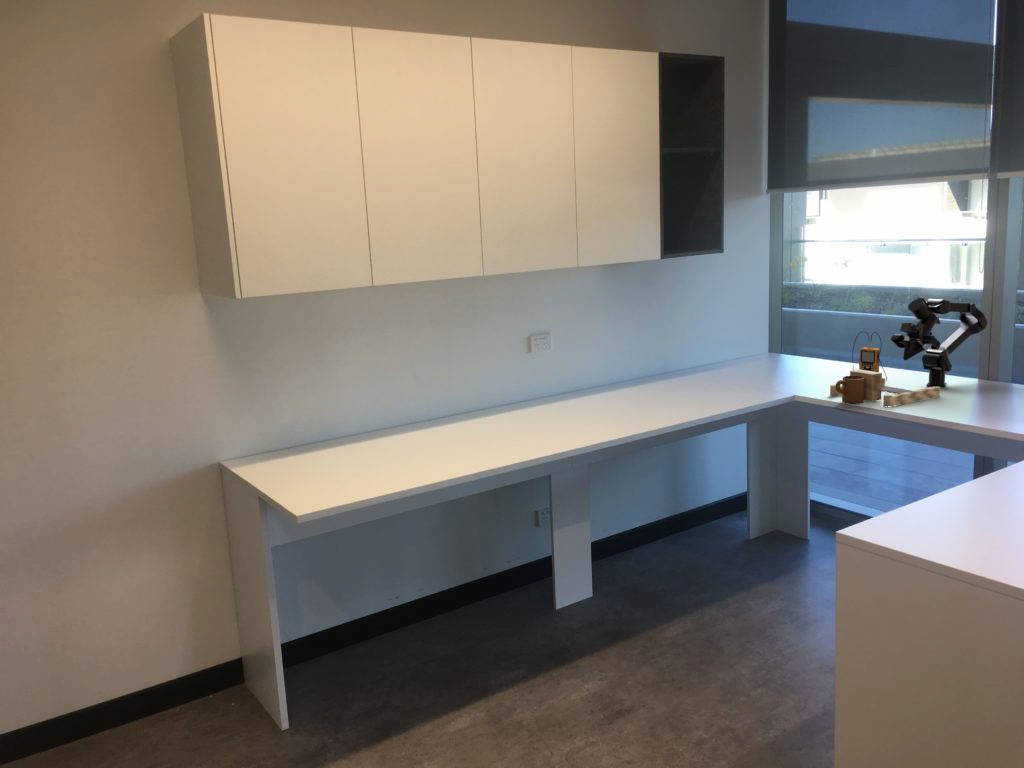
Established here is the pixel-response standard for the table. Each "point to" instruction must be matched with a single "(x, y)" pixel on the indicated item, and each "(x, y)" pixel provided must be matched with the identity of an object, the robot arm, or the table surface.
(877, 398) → the wooden block
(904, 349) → the robot arm
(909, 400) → the channel
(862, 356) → the multimeter
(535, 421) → the table surface
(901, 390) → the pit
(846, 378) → the mug
